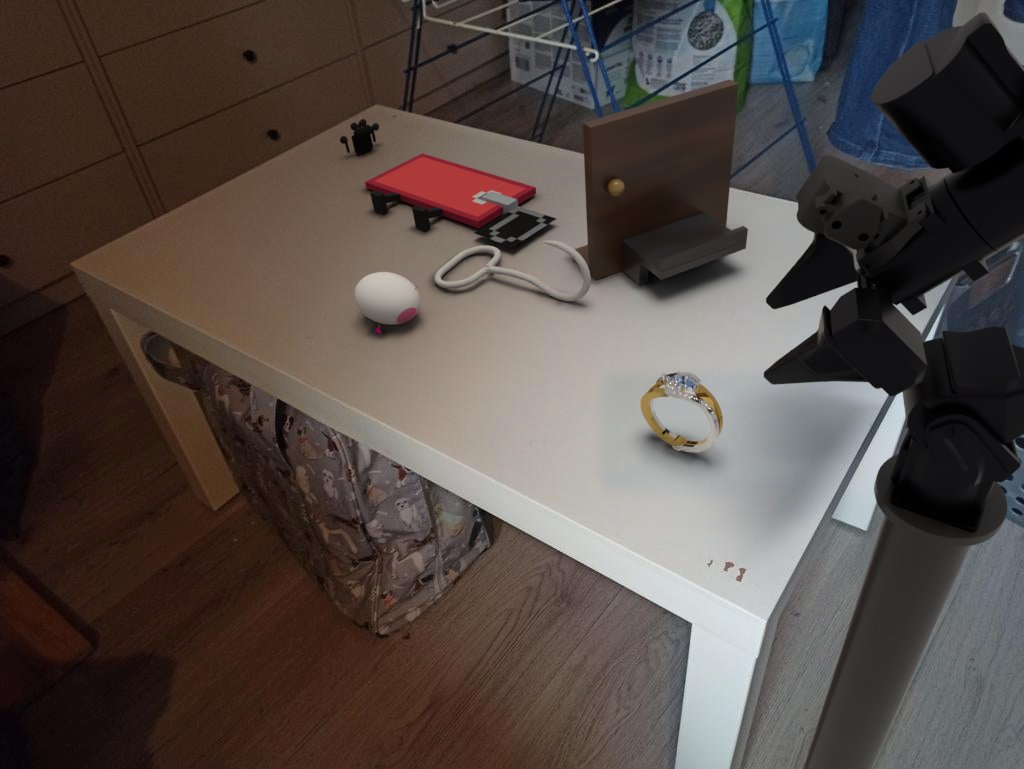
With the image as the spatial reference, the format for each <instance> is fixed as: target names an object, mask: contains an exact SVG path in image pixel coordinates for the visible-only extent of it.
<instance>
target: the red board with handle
mask: <svg viewBox="0 0 1024 769" xmlns="http://www.w3.org/2000/svg"><path fill="white" fill-rule="evenodd" d="M364 184H365V188H366V189H368V190H369V191H371V192H370V193H369V195H370V199H371V203H372V208H373V212H374V213H376V214H379V215H381V216H384V215H386V214H388V213H389V208H388V204H390V203H395V202H405V203H407V204H410V205H412V206H413V207H412V208H411V210H412V211H411V212H412V214H413V215H412V216H413V220H414V226H415V229H418V230H421V231H423V232H427V231H429V230H430V229H431V228H432V227H431V222H430V219H435V218H438V217H439V218H440V217H446V218H449V219H451V220H455V221H457V222H460V223H463V224H465V225H468V226H472V227H474V228H477V230H476V231H474V232H473V234H475V235H476V236H477V235H478V236H480V237H483V238H485V239H488V240H491V241H493V242H497V243H500V244H502V245H505V246H508V247H511V248H513V247H514V246H515V247H516V246H517V245H518V244H520V243H521V242H523V241H525V240H526V239H527V238H529V237H530V236H532V235H534V234H535V233H536V232H539V231H540V230H541V229H543V228H544V227H546V226H547V225H549V224H551V223H553V222H554V221H556V220H557V218H556V217H554V216H551V215H547V214H544V213H541V212H537V211H534V210H531V209H528V208H525V207H522V206H519V205H520V204H522V203H523V202H525V201H527V200H529V199H531V198H532V197H533V196H535V195H537V187H536V186H533V185H531V184H526V183H523V182H519V181H516V180H513V179H509V178H507V177H503V176H499V175H496V174H493V173H490V172H486V171H483V170H479V169H476V168H473V167H470V166H467V165H464V164H463V165H462V164H459V163H456V162H452V161H450V160H446V159H443V158H440V157H436V156H433V155H430V154H426V153H424V152H423V153H420V154H418V155H416V156H414V157H412V158H410V159H408V160H405V161H404V162H402V163H400V164H398V165H396V166H394V167H392V168H390V169H388V170H386V171H383V172H382V173H380V174H378V175H376V176H374V177H372V178H370V179H368V180H366V181H364Z"/></svg>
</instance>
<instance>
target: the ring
mask: <svg viewBox="0 0 1024 769" xmlns="http://www.w3.org/2000/svg"><path fill="white" fill-rule="evenodd" d="M661 386H664V387H661ZM669 397H670V398H675V399H679V400H683V401H686V402H688V403H691V404H693V405H695V406H696V407H698V408H699V409H700V410H701V411H702V412H703V414H704V415H705V417H706V420H707V422H708V424H709V425H708V426H709V434H708V437H706V438H705V439H703V440H699V441H693V440H688V439H687V438H686V437H685V436H683V435H681V434H677V435H676V434H674V433H673V432H672V431H670V430H669V429H668V428H667V427H666V426H665V425H664V424H663V423H662V422H661V420H660V418H659V417H658V415H657V414H656V411H655V408H654V400H655V399H659V398H669ZM639 405H640V410H641V414H642V416H643V418H644V419H645V422H646V423H647V425H648V426H649V427H650V429H651V430H652V431H653V432H654V433H655V434H656V436H658V437H659V438H660V439H661V440H663V441H664V442H666V443H667V444H668V445H670V446H671V447H672V449H674V451H677V452H681V451H683V452H687V453H701V452H704V451H706V450H707V449H709V448H710V447H711V446H712V445H714V443H715V442H716V441H717V440H718V439H719V437H720V435H721V433H722V430H723V426H724V417H723V412H722V408H721V406H720V404H719V402H718V400H717V399H716V397H715V396H714V395H713V393H711V392H710V391H709V389H708V388H706V387H705V386H704V385H703V384H702V381H701V379H700V377H699V376H698V375H696V374H695V373H692V372H687V371H677V372H672V373H667V374H666V372H663V373H661V376H660V377H658V378H656V379H655V381H654V382H653V383H652V384H651V385H650V386H649V387H648V388H647V390H646V392H645V393H644V394H643V395H642V396H641V398H640V404H639Z"/></svg>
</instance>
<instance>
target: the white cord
mask: <svg viewBox="0 0 1024 769" xmlns="http://www.w3.org/2000/svg"><path fill="white" fill-rule="evenodd" d="M541 243H543V244H546V245H548V246H552V247H555V248H557V249H559V250H561V251H562V252H564V253H566V254H568V255H569V256H570V257H571V259H572V258H573V259H574V260H575V261H576V262H575V261H574V260H573V259H572V260H573V261H574V262H575V263H576V264H577V265H578V267H579V268H580V271H581V274H582V279H583V282H582V286H581V288H580V289H579V290H578V291H577V292H573V293H566V292H561V291H559V290H556V289H554V288H552V287H551V286H549V285H547V283H545V282H543V281H542V280H541V279H539V278H536V277H535V276H534V275H532V274H528V273H526V272H523V271H520V270H516V269H512V268H508V267H501V266H496V265H497V264H498V263H499V262H500V261H501V259H502V252H501V251H500V249H499V248H498V247H496V246H493V245H476V246H472V247H469V248H466V249H464V250H462V251H461V252H459V253H457V254H456V255H455V256H453V257H452V258H451V259H450V260H448V262H447V263H445V264H444V265H443V266H442V267H441V268H439V269H438V270H437V271H436V273H435V274H434V278H433V279H434V282H435V284H436V285H437V287H440V288H442V289H449V290H451V289H453V290H454V289H460V288H463V287H464V288H465V287H467V286H470V285H472V284H474V283H475V282H477V281H479V280H480V279H481V278H483V277H484V276H485V275H489V274H495V275H503V276H508V277H512V278H516V279H519V280H522V281H525V282H527V283H529V284H531V285H533V286H535V287H536V288H538V289H539V290H540V291H542V292H543V293H545V294H547V295H548V296H550V297H553V298H555V299H558V300H560V301H564V302H575V301H579V300H581V299H583V298H584V297H585V296H587V294H588V292H589V290H590V288H591V285H592V284H591V283H592V276H591V275H590V271H589V268H588V265H587V264H586V262H585V260H584V259H583V257H582V256H581V255H580V254H579V253H578V252H577V251H576V250H575V249H576V248H574V247H572V246H570V245H568V244H566V243H564V242H561V241H558V240H541ZM479 253H491V254H493V257H492V258H491V260H489V261H488V262H487V263H486V265H485V267H482V268H480V269H479V270H478V271H476V272H475V273H474V274H472V275H469V276H468V277H466V278H463V279H459V280H455V281H454V280H453V281H447V280H443V279H442V278H443V276H444V275H445V274H446V273H447V272H448V271H450V270H451V269H452V268H454V267H455V266H456V265H457V264H458V263H460V262H461V261H462V260H463V259H465V258H467V257H469V256H472V255H475V254H479Z"/></svg>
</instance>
